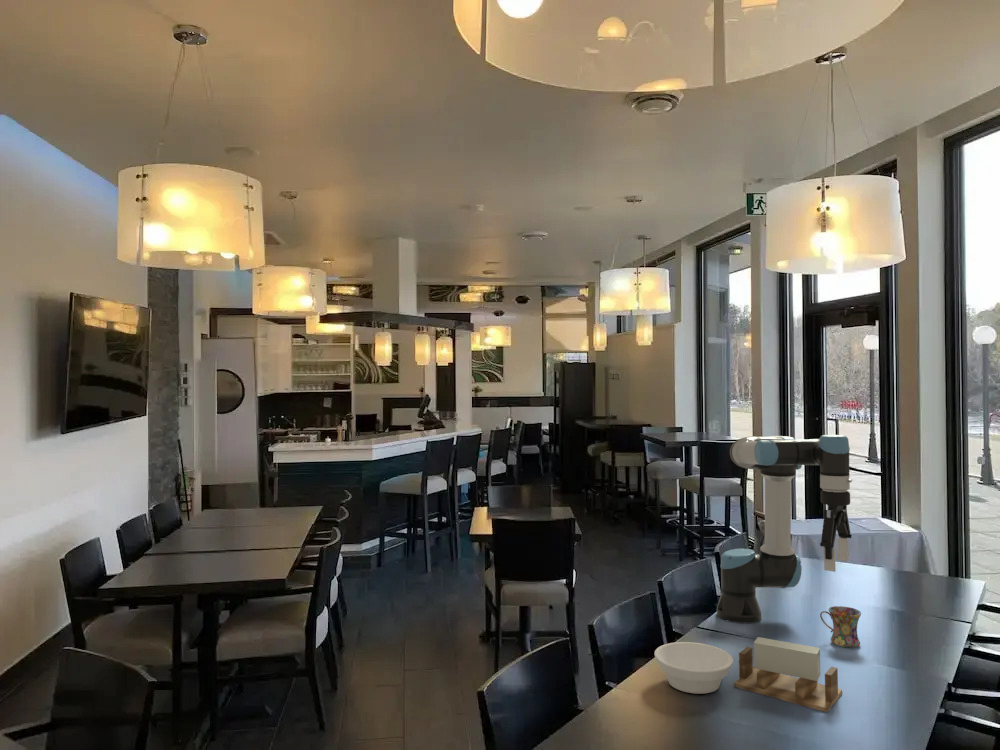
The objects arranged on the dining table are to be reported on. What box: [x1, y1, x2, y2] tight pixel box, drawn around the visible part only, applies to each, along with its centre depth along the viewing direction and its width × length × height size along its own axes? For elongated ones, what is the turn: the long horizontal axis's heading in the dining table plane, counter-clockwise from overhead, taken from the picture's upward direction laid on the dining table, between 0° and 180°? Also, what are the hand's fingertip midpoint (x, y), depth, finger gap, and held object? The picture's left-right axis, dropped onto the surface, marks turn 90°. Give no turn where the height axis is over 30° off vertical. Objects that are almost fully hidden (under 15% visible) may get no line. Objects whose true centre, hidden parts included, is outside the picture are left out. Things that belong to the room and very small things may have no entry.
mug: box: [819, 605, 862, 648], centre depth 219 cm, size 12×9×11 cm
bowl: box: [654, 641, 734, 694], centre depth 190 cm, size 21×21×8 cm
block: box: [753, 636, 822, 682], centre depth 186 cm, size 16×5×7 cm, turn 57°
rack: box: [733, 646, 843, 713], centre depth 186 cm, size 24×14×8 cm, turn 49°
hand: (836, 565), depth 193 cm, fingers open, 13 cm apart
